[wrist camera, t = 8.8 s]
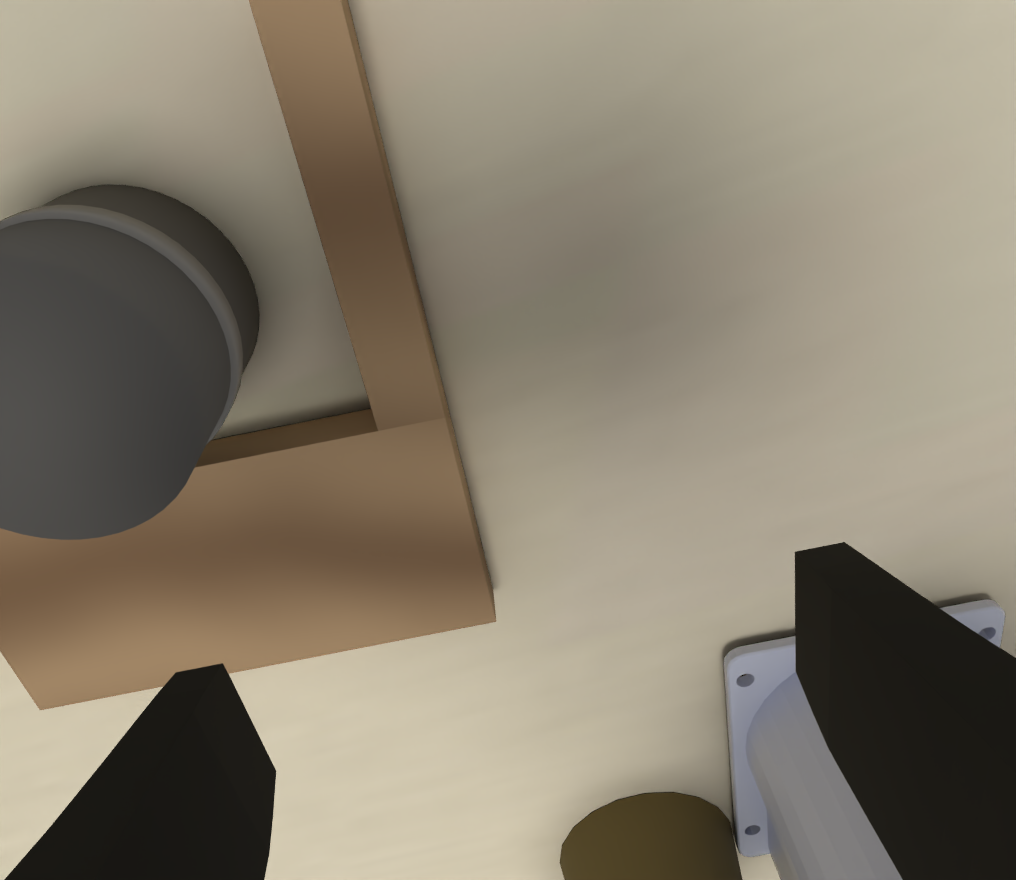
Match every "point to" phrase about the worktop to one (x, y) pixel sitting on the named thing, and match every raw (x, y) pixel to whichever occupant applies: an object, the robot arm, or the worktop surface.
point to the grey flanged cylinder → (113, 357)
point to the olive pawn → (652, 841)
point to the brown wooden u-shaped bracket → (282, 462)
